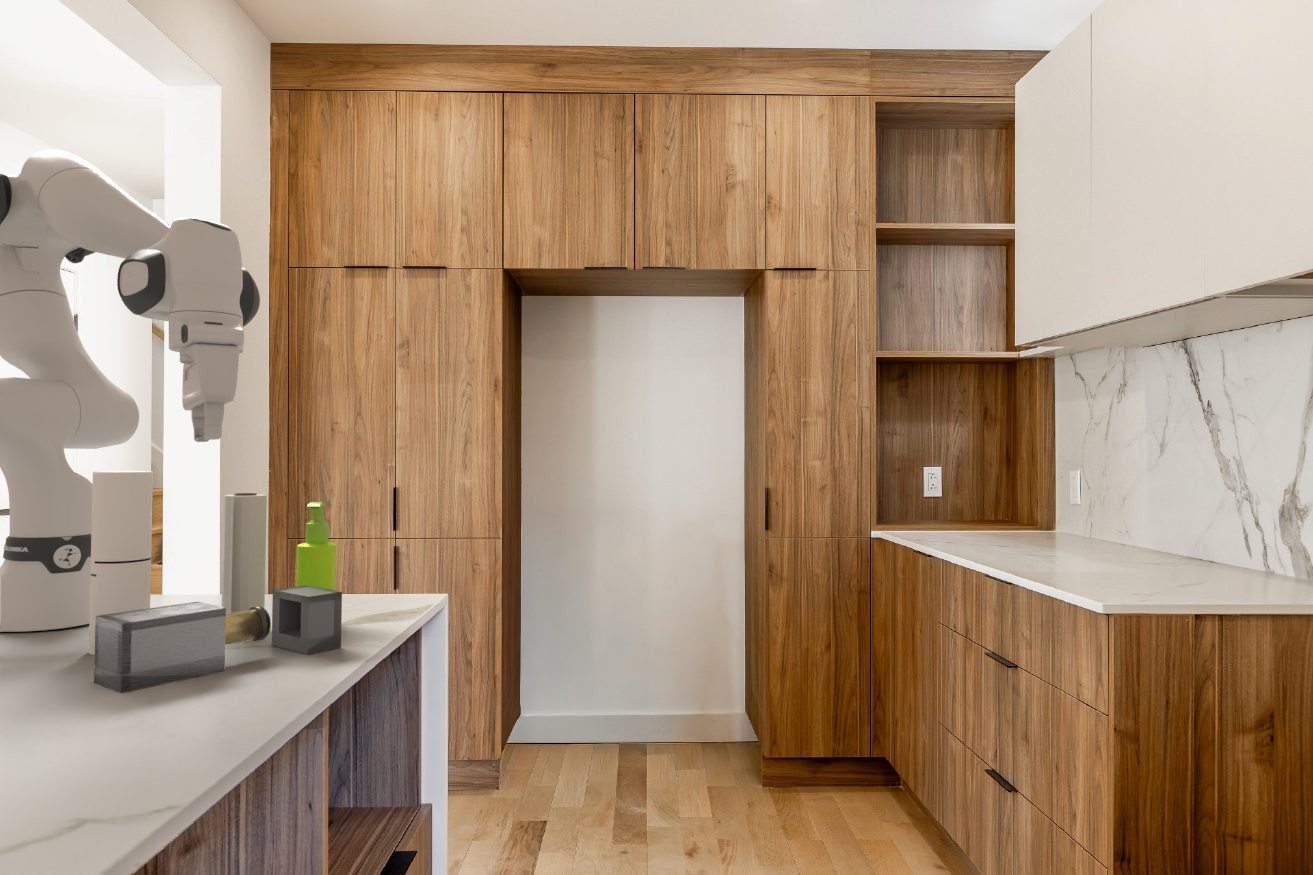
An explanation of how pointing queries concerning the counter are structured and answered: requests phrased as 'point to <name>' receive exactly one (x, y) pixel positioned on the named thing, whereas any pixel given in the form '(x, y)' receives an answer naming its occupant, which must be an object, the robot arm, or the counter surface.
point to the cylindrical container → (120, 544)
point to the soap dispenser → (316, 553)
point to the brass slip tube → (247, 625)
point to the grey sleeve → (159, 645)
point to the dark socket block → (306, 619)
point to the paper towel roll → (244, 551)
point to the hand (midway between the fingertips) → (207, 440)
